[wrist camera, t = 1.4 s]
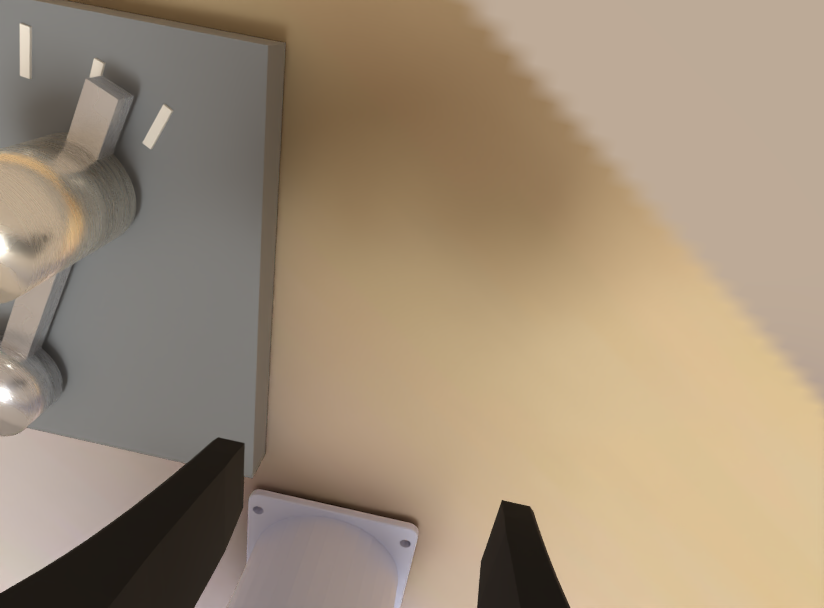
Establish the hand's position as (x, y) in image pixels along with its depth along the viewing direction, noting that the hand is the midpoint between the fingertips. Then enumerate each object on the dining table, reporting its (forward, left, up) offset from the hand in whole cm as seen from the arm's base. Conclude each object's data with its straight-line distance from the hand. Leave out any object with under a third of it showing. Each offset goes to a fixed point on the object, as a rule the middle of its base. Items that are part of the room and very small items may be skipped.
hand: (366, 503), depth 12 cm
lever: (0, +13, -8) cm, 15 cm away
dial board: (0, +15, -9) cm, 18 cm away
